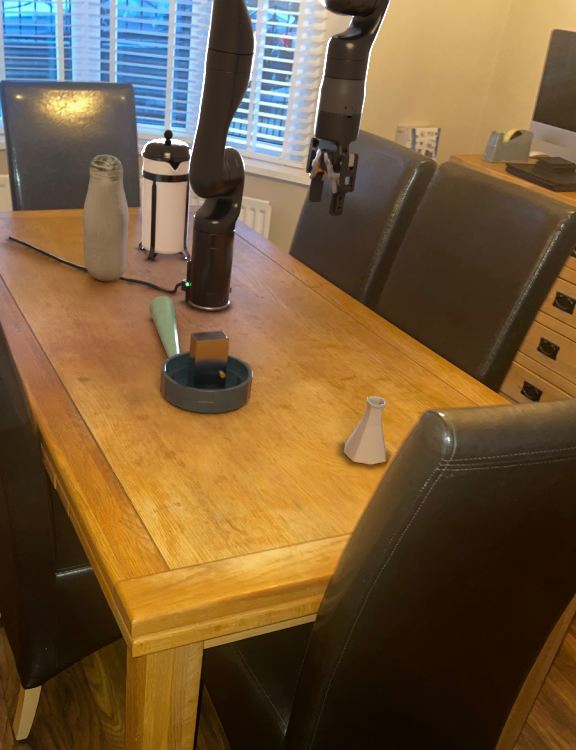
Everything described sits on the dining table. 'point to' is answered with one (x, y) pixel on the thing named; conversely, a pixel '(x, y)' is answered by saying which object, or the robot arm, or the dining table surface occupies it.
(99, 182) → the glass bottle
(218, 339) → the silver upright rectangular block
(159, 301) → the mint green cone
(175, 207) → the coffee press
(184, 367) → the bowl
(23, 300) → the dining table surface
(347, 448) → the flask
